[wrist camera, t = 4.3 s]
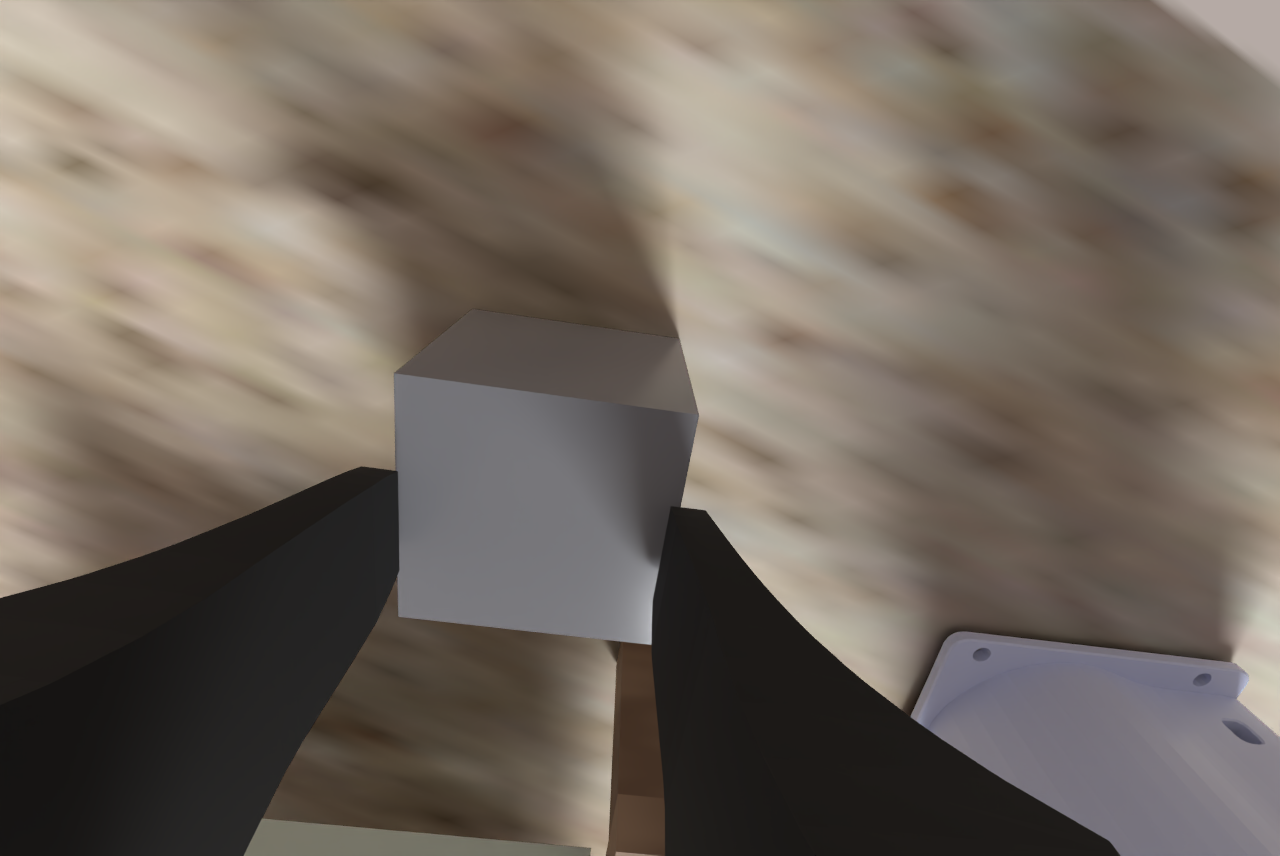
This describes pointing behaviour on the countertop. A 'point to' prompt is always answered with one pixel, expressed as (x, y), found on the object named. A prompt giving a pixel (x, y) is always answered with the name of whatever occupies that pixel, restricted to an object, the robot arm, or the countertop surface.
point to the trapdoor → (384, 843)
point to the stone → (539, 474)
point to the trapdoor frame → (636, 759)
